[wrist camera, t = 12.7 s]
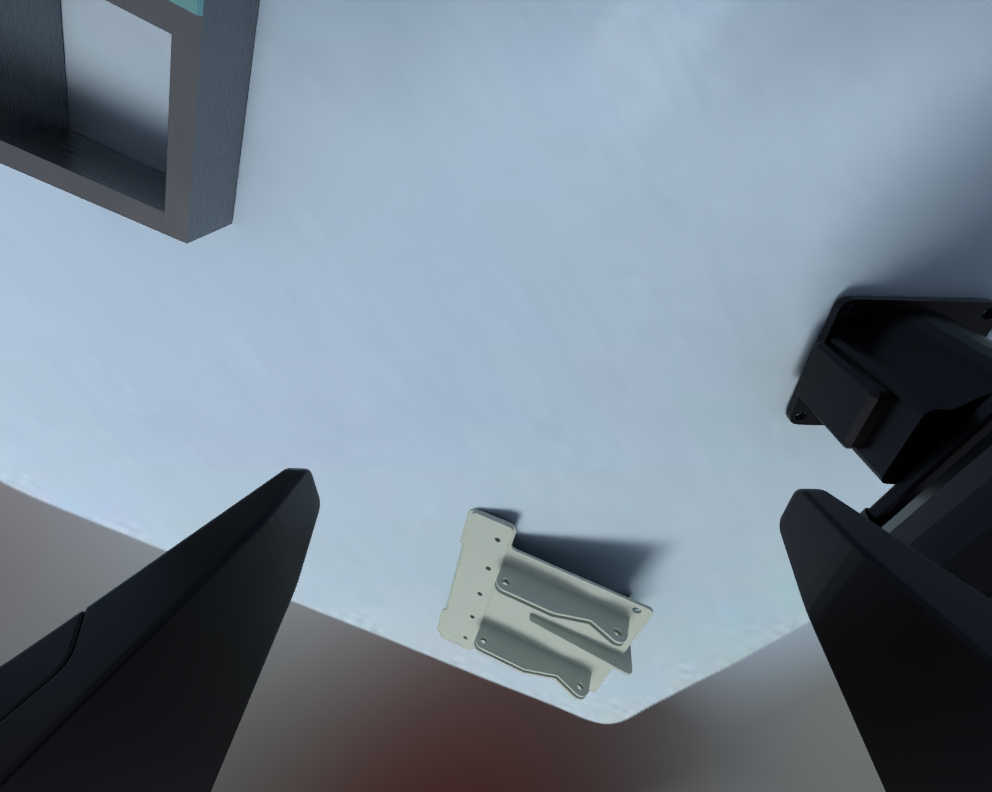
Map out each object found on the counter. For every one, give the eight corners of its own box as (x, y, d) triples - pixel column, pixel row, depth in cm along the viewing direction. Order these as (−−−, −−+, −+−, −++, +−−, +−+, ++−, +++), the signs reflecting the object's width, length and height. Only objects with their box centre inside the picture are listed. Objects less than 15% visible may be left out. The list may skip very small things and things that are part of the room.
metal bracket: (683, 627, 24) (592, 735, 32) (682, 546, 29) (603, 658, 37) (442, 521, 27) (415, 648, 35) (477, 462, 31) (446, 586, 40)
